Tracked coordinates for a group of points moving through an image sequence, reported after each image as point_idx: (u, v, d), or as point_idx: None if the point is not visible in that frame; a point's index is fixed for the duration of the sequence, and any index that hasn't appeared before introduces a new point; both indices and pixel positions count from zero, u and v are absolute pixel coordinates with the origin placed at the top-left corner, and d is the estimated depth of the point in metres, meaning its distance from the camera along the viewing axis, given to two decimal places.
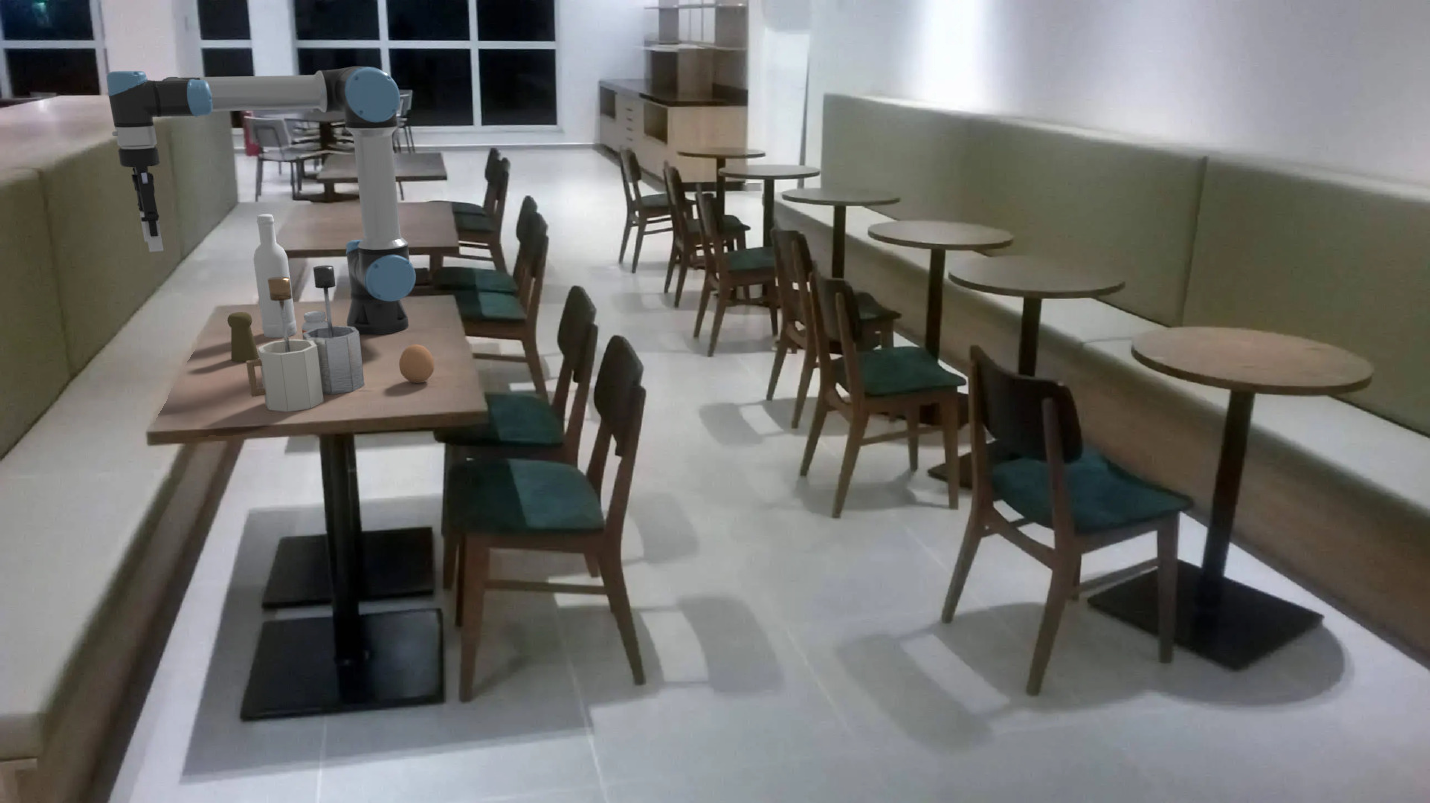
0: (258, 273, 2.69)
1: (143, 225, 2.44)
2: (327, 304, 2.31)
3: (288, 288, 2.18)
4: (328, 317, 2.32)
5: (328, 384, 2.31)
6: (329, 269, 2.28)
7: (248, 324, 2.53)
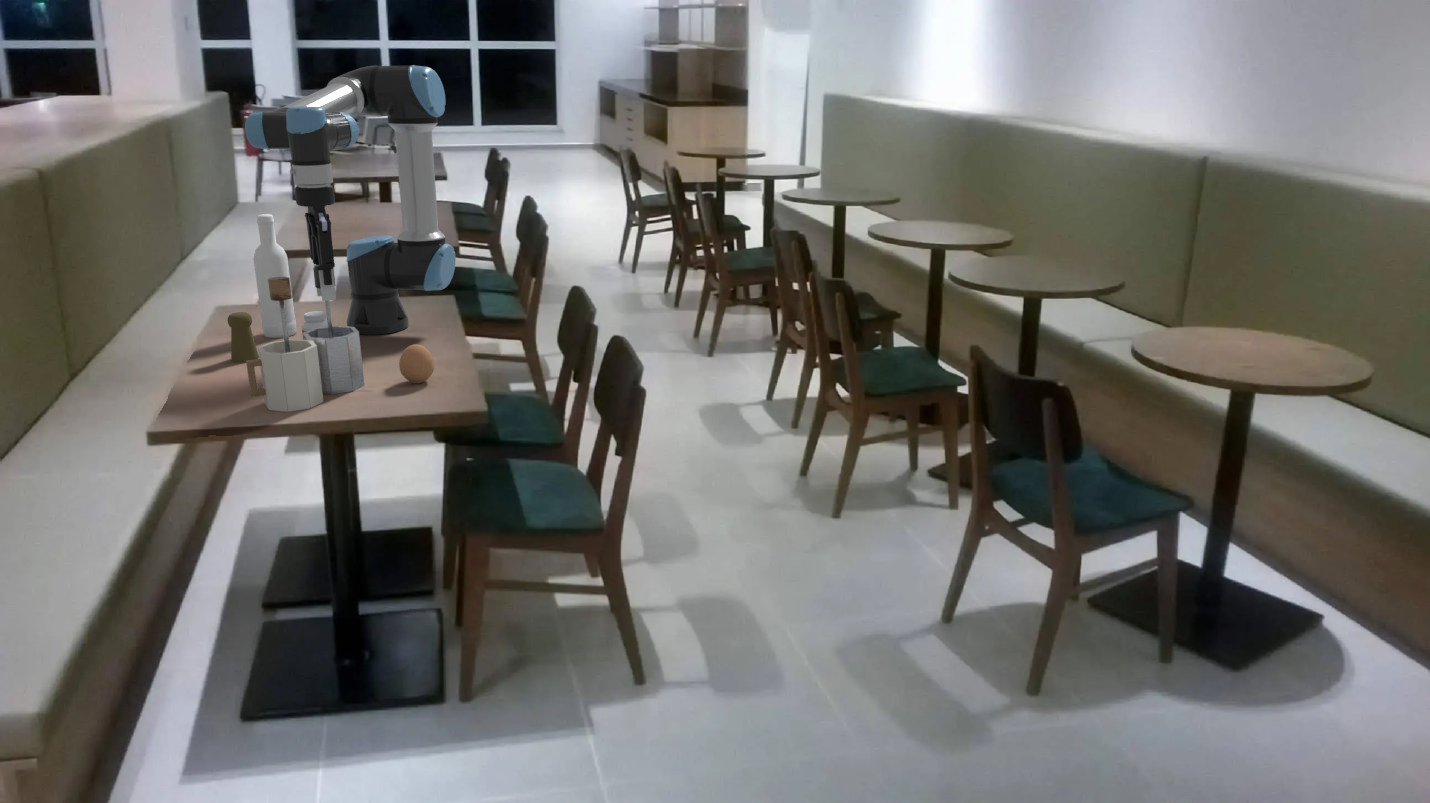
0: (259, 273, 2.69)
1: None
2: (327, 304, 2.31)
3: (288, 288, 2.18)
4: (328, 317, 2.32)
5: (328, 384, 2.31)
6: None
7: (248, 324, 2.53)
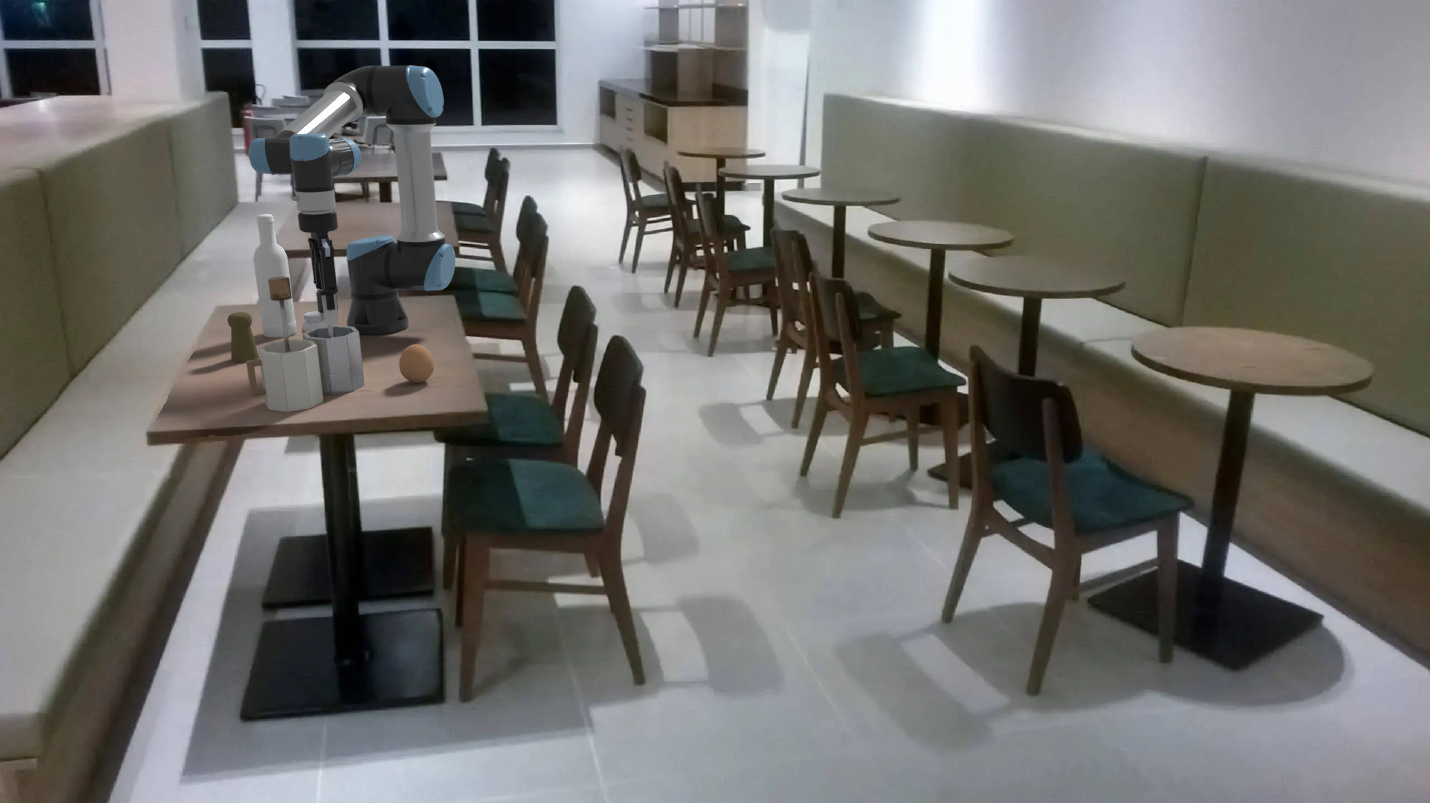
0: (258, 273, 2.69)
1: None
2: (330, 328, 2.33)
3: (288, 288, 2.18)
4: None
5: (328, 384, 2.31)
6: None
7: (248, 324, 2.53)
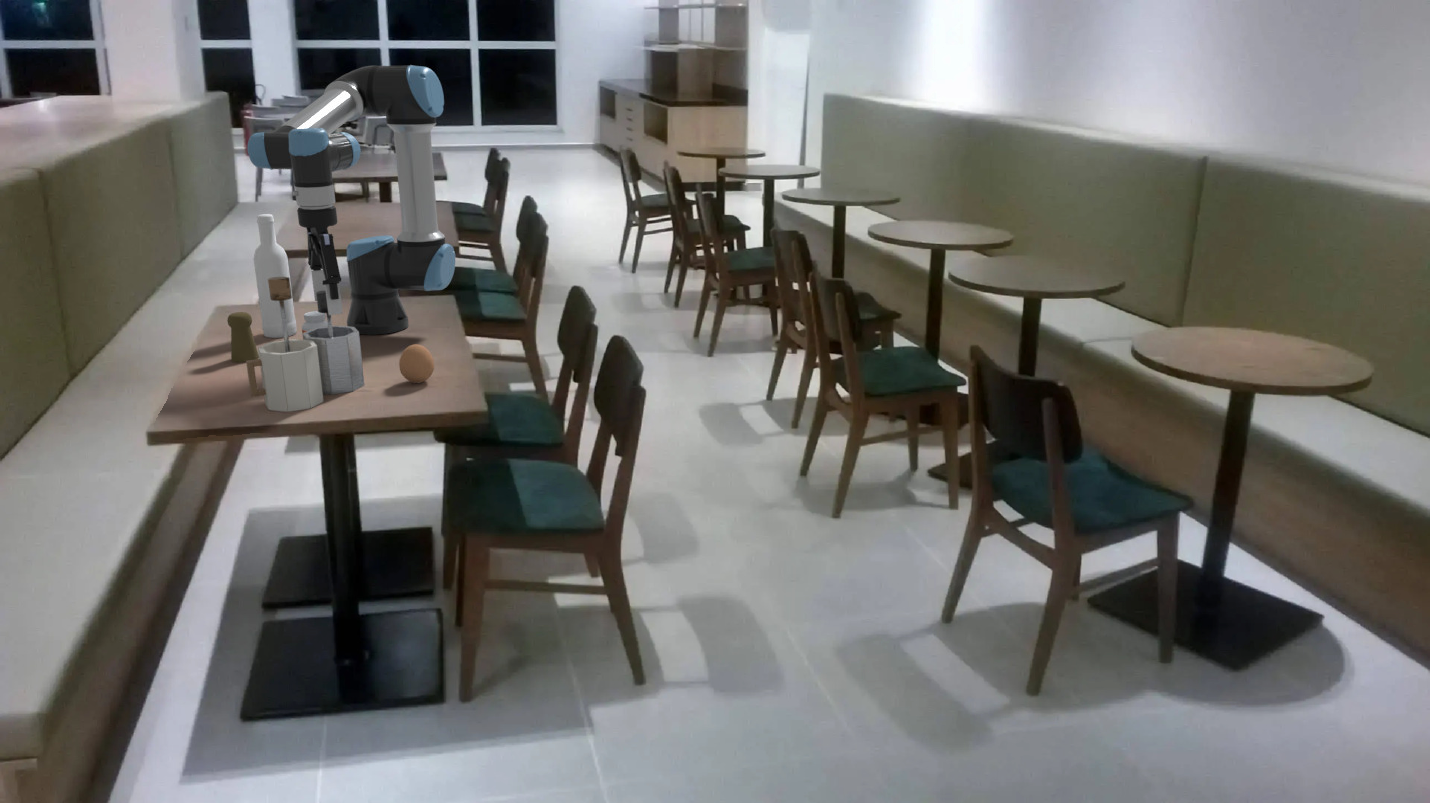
0: (259, 273, 2.69)
1: (315, 284, 2.35)
2: (330, 328, 2.33)
3: (288, 288, 2.18)
4: None
5: (328, 384, 2.31)
6: None
7: (247, 324, 2.53)
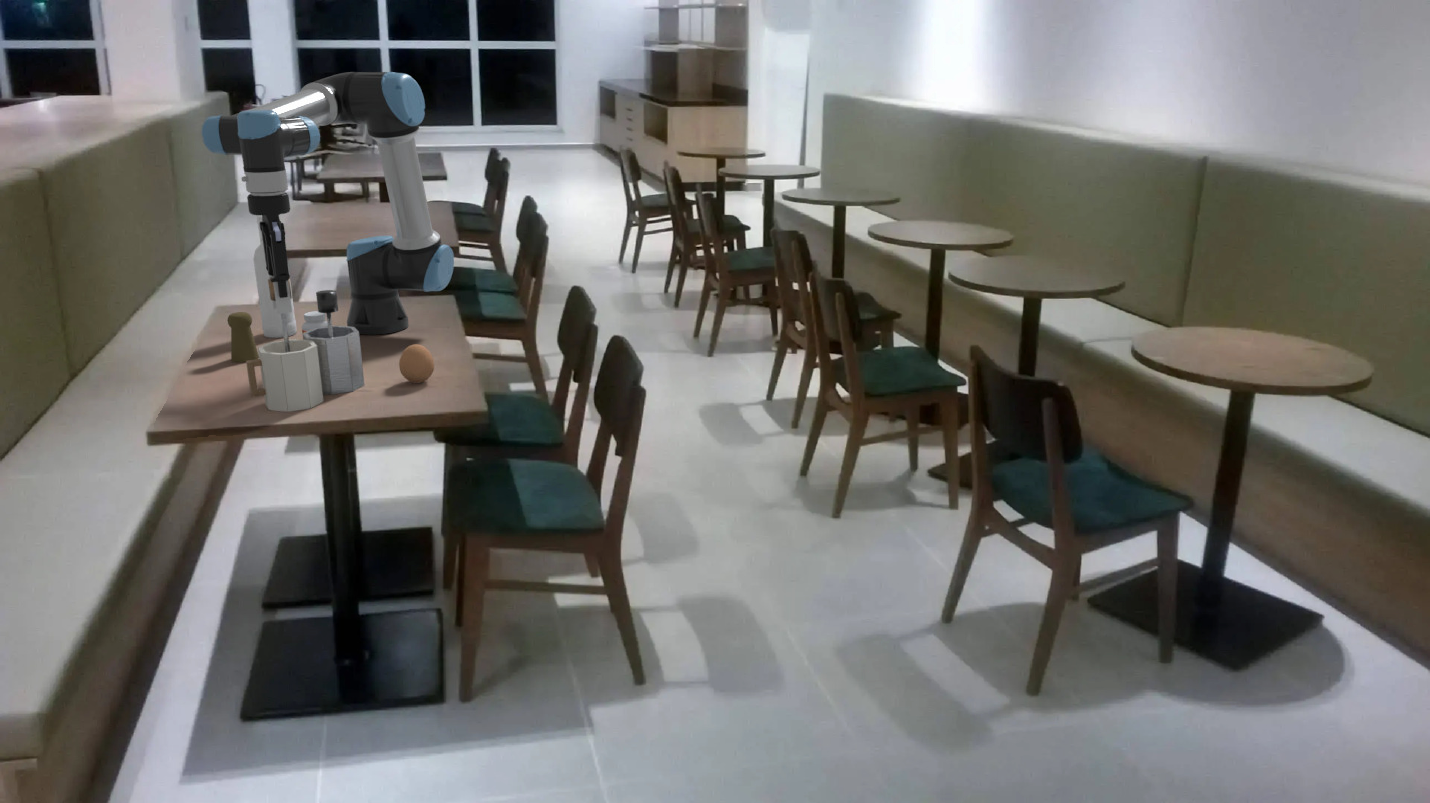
0: (258, 273, 2.69)
1: None
2: (330, 328, 2.33)
3: None
4: None
5: (328, 384, 2.31)
6: (332, 294, 2.29)
7: (248, 324, 2.53)
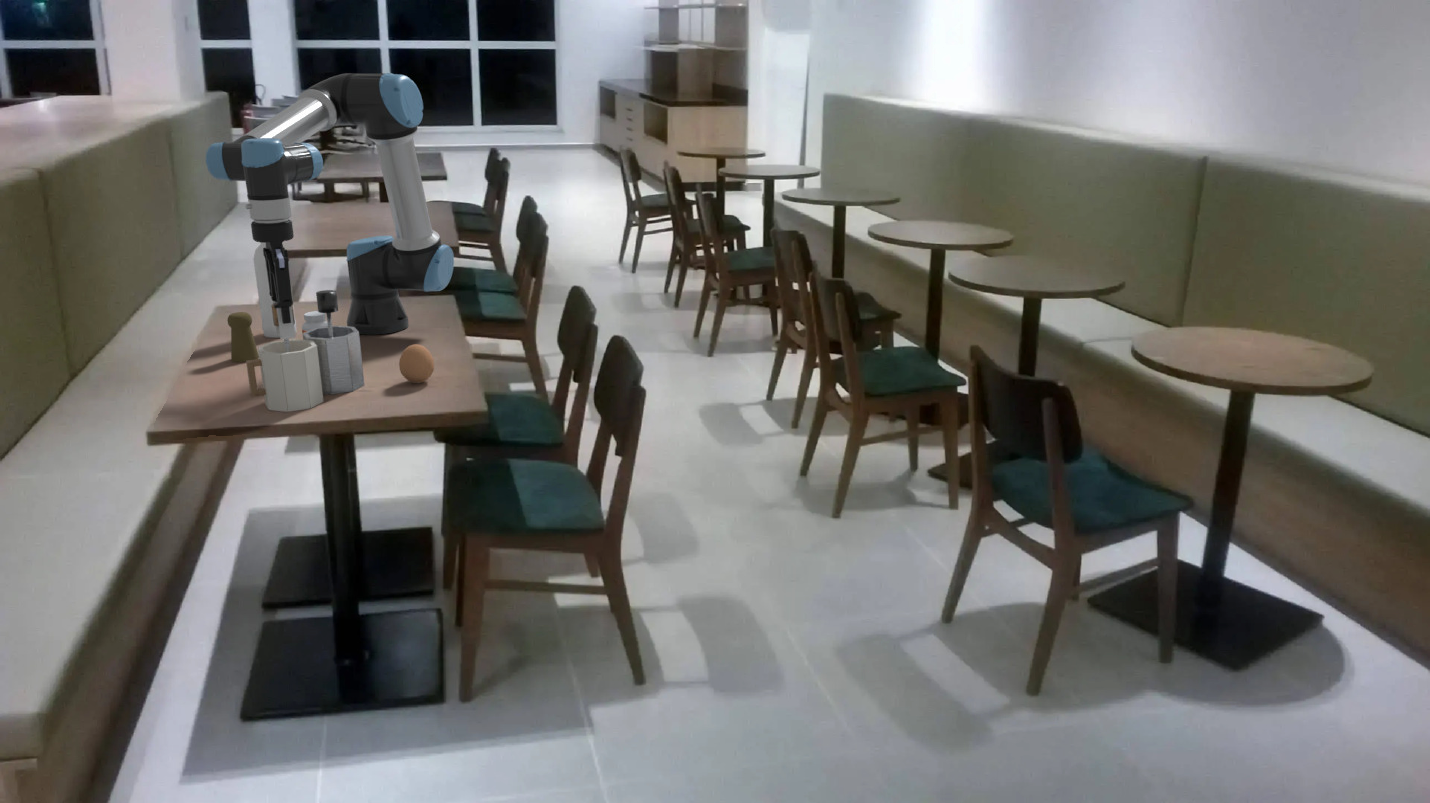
0: (258, 273, 2.69)
1: None
2: (330, 328, 2.33)
3: (292, 313, 2.20)
4: None
5: (328, 384, 2.31)
6: (332, 294, 2.29)
7: (248, 324, 2.53)
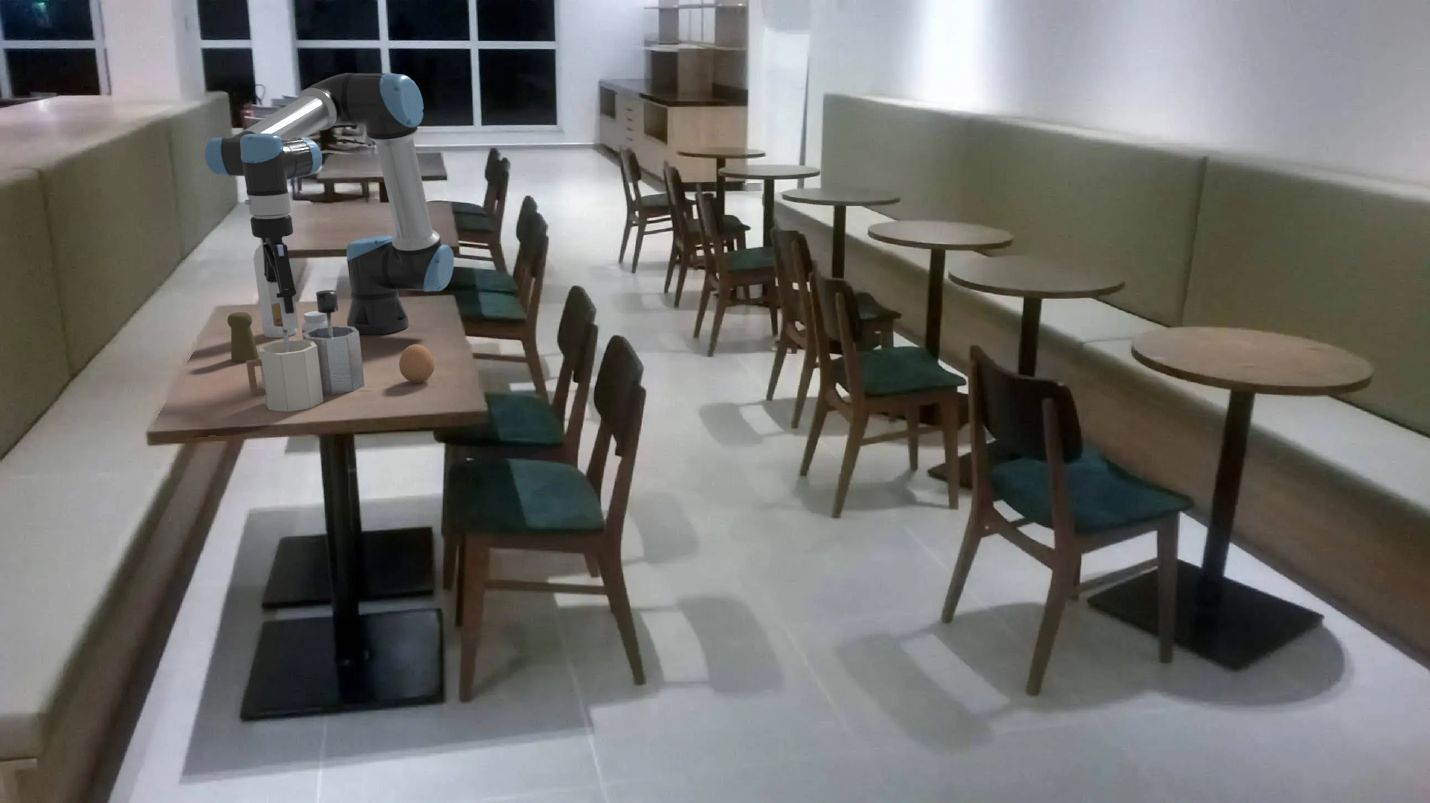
0: (259, 273, 2.69)
1: (271, 297, 2.25)
2: (330, 328, 2.33)
3: None
4: None
5: (328, 384, 2.31)
6: (332, 294, 2.29)
7: (248, 324, 2.53)
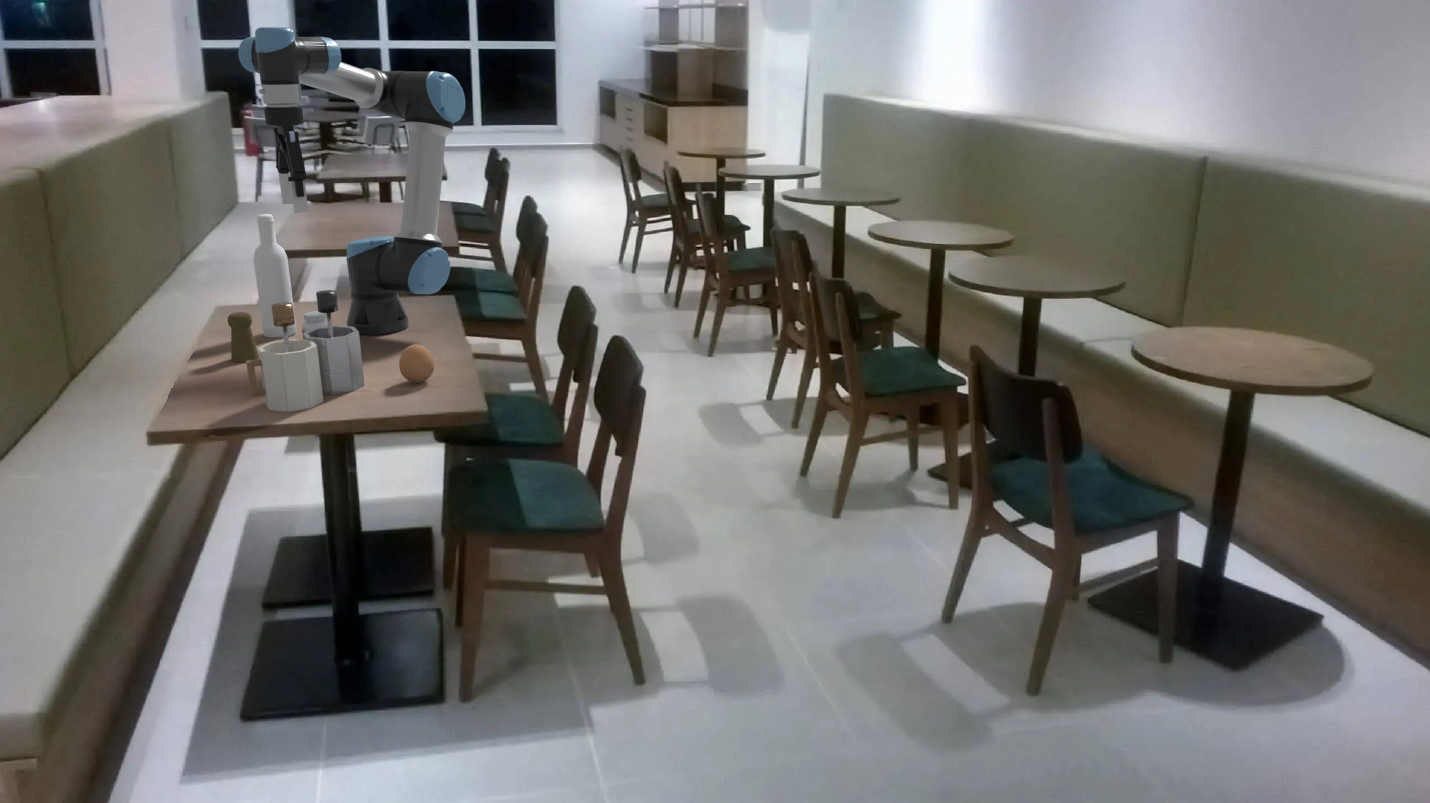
0: (258, 273, 2.69)
1: (282, 187, 2.39)
2: (330, 328, 2.33)
3: (292, 313, 2.20)
4: None
5: (328, 384, 2.31)
6: (332, 294, 2.29)
7: (248, 324, 2.53)
